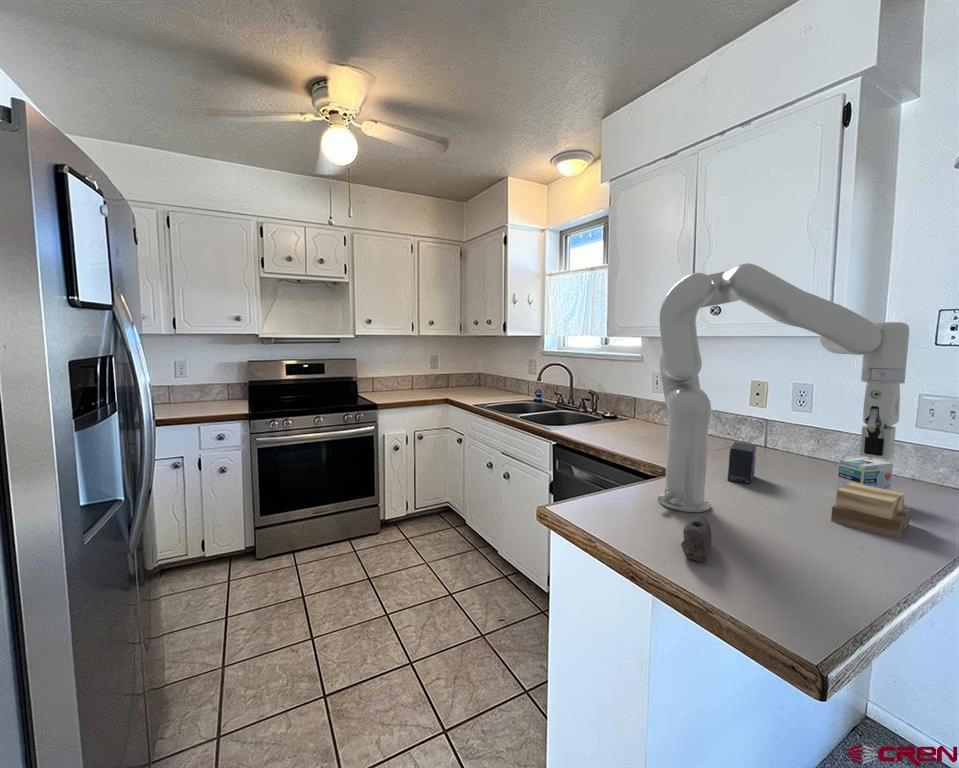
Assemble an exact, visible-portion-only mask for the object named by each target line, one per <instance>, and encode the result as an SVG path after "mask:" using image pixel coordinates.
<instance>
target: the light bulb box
mask: <svg viewBox="0 0 959 768" xmlns="http://www.w3.org/2000/svg"><path fill="white" fill-rule="evenodd" d="M893 467H894V463H892V462H888V461H885V460H881V459H880V460H879V459H877V458H873V457H866V456H862V457H855V458H854V457H852V458H843V459H839V464H838V475H837V488H836V491H837V490H838V489H839V488H841V487H843V486H845V485H847V484H849V483H850V482H854V483H859V484H864V485H868V486H873V487H878V488H882V489H887V490H891V485H892V476H893Z"/></svg>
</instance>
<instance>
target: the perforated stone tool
mask: <svg viewBox="0 0 959 768" xmlns="http://www.w3.org/2000/svg"><path fill="white" fill-rule="evenodd" d="M711 545H712V528H711V525H710V522H709V521H708V520H707V518H705V516H701V515H700V516H699V515H698V516H697V515H696V516H694V517H692V518H690V519H689V521H687V523H685V526H684V529H683V541H682V542H681V544H680V547H681V549H682V552H683V554H684V556H685V557H686V558H688V559H690V560H692V561H696V562H698V563H703V562H704V561H706V559H707V558H708V555H709V553H710V550H711Z"/></svg>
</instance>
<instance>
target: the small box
mask: <svg viewBox="0 0 959 768" xmlns="http://www.w3.org/2000/svg"><path fill="white" fill-rule="evenodd" d="M728 458H729V459H728V471H727V481H728V480H729V481H731V482H735V483H740V484H746V485H751V483H752V481H753V480H754V477H755V472H756V471H755V470H756V458H757V444H751V443H745V442H738V441H735V442H733V444H732V445H731V446H730V448H729V456H728ZM729 481H728V482H729Z"/></svg>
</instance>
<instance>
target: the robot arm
mask: <svg viewBox="0 0 959 768" xmlns="http://www.w3.org/2000/svg"><path fill="white" fill-rule="evenodd" d="M738 301H741V302H743V303H745V304H746V305H748V306H750V307H752V308H754V309H756V310H758V311H759V312H761V313H762V314H764V315H765V316H768V317H769V318H771V319H773V320H775V321H777V322H778V323H781V324H784V325H786V326H792V327H796V328H800V329H804V330H806V331H809V332H812V333H814V334H817V335H818V336H819V337H820V339H819V341H820V343H821V346H822V347H823V348H824V349H825V350H827V351H828V352H831V353H832V354H833V353H834V354H839V355H854V356H862V366H861V376H860V377H861V379H860V381H861V382H862V383H866V384H865V385H866V386H865V390H864V397H863V398H864V399H863V410H862V422H863V423H864V424H865V425H866V424H867V430H866V437H865V447H864V453H865V454H870V455H877V456H882V455H883V445H884V439H882V437H883V430H884V426H887V427H890V426H891V427H893V426H894V425H896V424H897V423H898V422H900V402H901V399H900V398H901V385H902V384H905V383H906V382H905V381H906V373H907V362H908V350H909V342H910V341H909V340H910V338H909V337H910V326H909V325H908V324H907V323H906V322H902V321H894V322H893V321H891V322H890V321H889V322H886V321H885V322H872V321H871V320H869V319H867V318H865V317H864V316H862V315H860V314H858V313H857V312H855V311H853V310H851V309H849V308H847V307H845V306H843V305H840V304H838V303H835V302H833V301H830V300H828V299H825V298H823V297H821V296H818V295H816V294H812V293H811V292H807V291H805V290H803V289H801V288H799V287H797V286H795V285H794V284H791V283H790V282H788V281H787V280H784V279H783V278H781V277H779V276H777V275H776V274H774V273H772V272H770V271H768V270H766V269H765V268H763V267H761V266H758V265H756V264H753V263H748V262H747V263H746V262H745V263H742V264H739V265H737V266H734V267H732V268H731V269H728V270H724V271H720V272H716V273H711V274H706V273H704V272H693V273H689V274H688V275H686V276H685V277H684V276H683V278H681V279H680V280H679V281H678V282H677V283H675V284H674V286H673V287H672V288H671V289H670V290H669V291H668V293H667V294H666V296H665V298H664V300H663V301H662V304H661V307H660V310H659V320H658V321H659V331H660V332H659V333H660V342H661V348H662V352H661V355H660V357H659V371H660V379H661V383H662V389H663V396H664V402H665V405H666V407H667V408H668V412H669V413H668V422H667V423H668V425H667V437H666V438H667V439H666V463H665V464H666V465H665V484H664V485H665V487H664V492H662V493H660V494H659V495H658V496H657V501H658V502H659V503H660V504H661V505H662V506H664V507H667V508H669V509H671V510H675V511H680V512H685V513H703V512H707V511H708V510H710V508H711V507H712V506H711V505H712V504H711V502H710V500H709V499H707V498H706V497H705V493H706V491H705V490H706V474H707V473H706V472H707V457H708V456H707V454H708V435H709V426H710V420H711V414H712V404H711V400H710V397H709V396H708V395H707V393H706V392H705V391H704V390H703V389H701V385H700V378H699V375H700V374H699V373H700V371H701V370H702V365H703V363H702V357H701V352H700V346H699V341H698V335H697V321H696V320H697V314H698V312H699V310H700V309H703V308H707V307H714V306H720V305H725V304H729V303H734V302H738ZM878 428H880V429H878Z"/></svg>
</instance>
